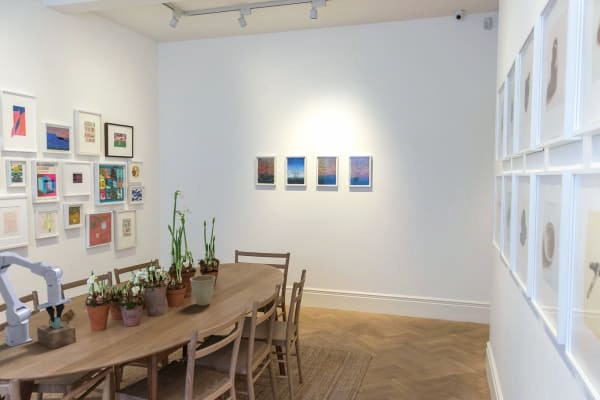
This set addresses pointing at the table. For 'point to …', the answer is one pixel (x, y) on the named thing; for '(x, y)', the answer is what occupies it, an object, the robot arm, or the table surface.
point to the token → (56, 323)
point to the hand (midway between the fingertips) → (55, 320)
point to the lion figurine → (67, 316)
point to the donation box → (56, 335)
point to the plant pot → (202, 288)
